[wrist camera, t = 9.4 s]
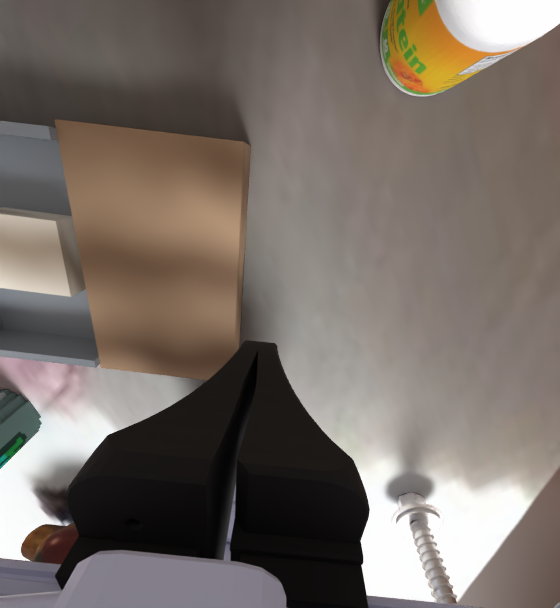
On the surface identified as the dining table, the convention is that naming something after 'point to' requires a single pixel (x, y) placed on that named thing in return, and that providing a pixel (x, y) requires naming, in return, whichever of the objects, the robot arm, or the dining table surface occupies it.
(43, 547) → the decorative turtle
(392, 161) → the dining table surface
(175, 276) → the wooden board
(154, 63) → the dining table surface
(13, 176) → the box
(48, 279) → the wooden tile
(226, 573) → the robot arm
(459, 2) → the supplement bottle
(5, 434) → the can
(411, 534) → the screw
